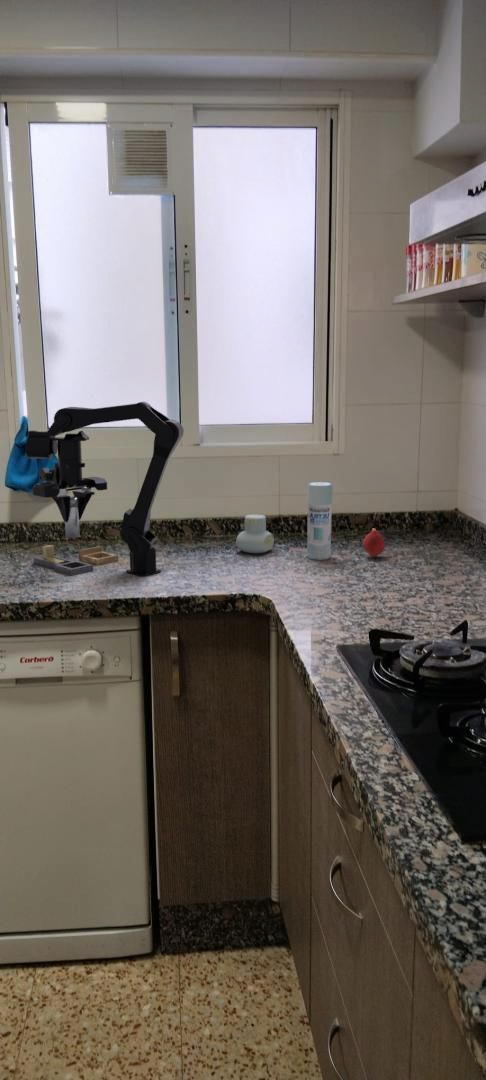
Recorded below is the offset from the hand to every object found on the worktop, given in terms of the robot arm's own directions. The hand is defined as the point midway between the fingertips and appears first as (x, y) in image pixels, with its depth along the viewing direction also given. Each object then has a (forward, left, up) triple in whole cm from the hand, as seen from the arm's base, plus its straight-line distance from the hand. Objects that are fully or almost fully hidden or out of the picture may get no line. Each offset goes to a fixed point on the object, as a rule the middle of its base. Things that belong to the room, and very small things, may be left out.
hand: (72, 520), depth 219 cm
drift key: (+9, 0, -13) cm, 16 cm away
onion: (-46, -65, -13) cm, 81 cm away
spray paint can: (-35, -55, -13) cm, 67 cm away
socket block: (+5, 0, -13) cm, 14 cm away
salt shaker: (0, 0, -4) cm, 4 cm away
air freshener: (-18, -48, -13) cm, 53 cm away
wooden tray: (+4, -11, -13) cm, 17 cm away
